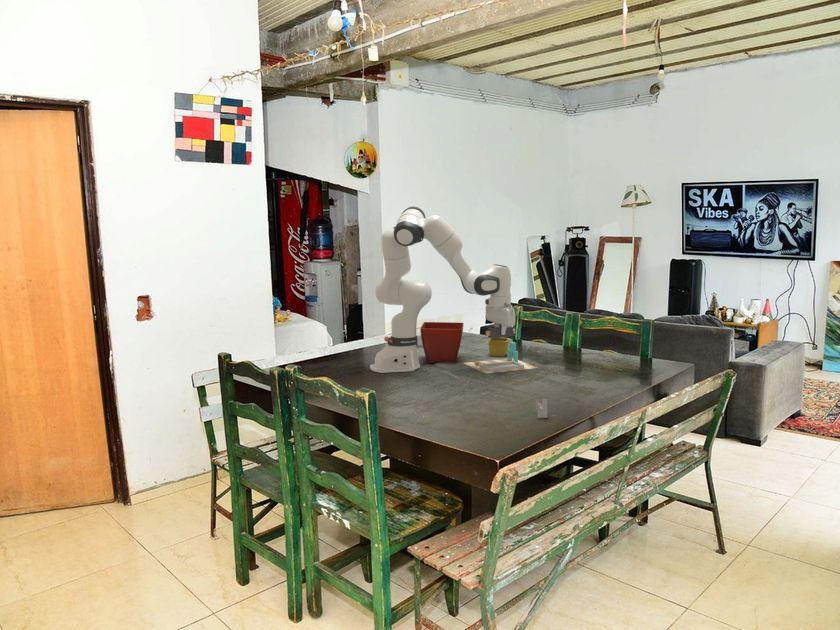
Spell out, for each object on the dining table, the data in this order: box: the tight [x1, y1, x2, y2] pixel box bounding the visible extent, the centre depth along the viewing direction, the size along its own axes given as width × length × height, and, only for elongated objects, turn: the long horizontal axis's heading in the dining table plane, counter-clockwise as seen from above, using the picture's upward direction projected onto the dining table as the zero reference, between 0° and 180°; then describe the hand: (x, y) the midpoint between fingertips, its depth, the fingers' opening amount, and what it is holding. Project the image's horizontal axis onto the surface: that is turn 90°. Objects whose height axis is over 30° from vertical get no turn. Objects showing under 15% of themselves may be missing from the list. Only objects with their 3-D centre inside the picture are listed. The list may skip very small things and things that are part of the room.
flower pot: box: [488, 337, 510, 358], centre depth 319 cm, size 9×9×9 cm
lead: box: [485, 326, 516, 339], centre depth 292 cm, size 13×3×4 cm, turn 112°
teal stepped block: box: [506, 341, 519, 362], centre depth 305 cm, size 2×6×8 cm, turn 22°
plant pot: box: [419, 321, 464, 364], centre depth 313 cm, size 19×19×17 cm
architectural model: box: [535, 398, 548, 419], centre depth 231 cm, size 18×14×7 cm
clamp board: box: [462, 357, 538, 374], centre depth 298 cm, size 26×22×3 cm
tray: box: [480, 361, 525, 373], centre depth 293 cm, size 17×9×2 cm, turn 112°
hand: (500, 333), depth 293 cm, fingers closed on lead, 3 cm apart
